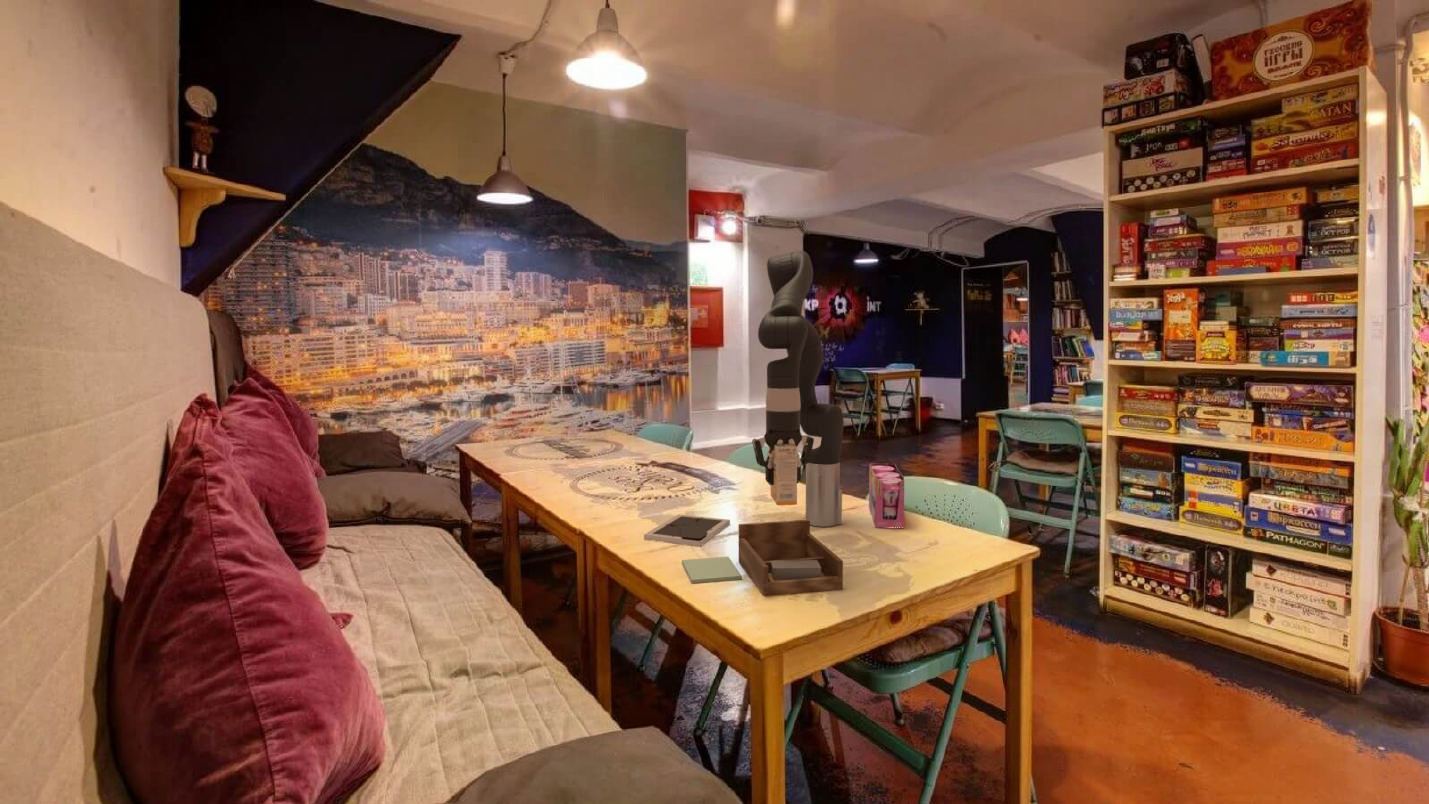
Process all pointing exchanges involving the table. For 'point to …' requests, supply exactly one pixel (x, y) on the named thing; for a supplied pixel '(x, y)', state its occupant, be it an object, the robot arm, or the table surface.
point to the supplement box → (785, 475)
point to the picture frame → (687, 530)
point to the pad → (711, 569)
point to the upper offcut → (795, 569)
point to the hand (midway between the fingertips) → (783, 483)
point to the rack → (786, 556)
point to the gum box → (886, 495)
